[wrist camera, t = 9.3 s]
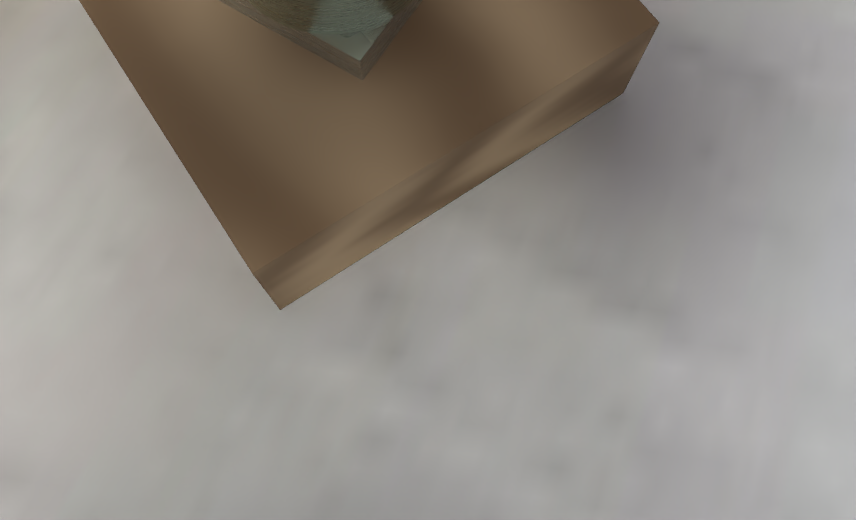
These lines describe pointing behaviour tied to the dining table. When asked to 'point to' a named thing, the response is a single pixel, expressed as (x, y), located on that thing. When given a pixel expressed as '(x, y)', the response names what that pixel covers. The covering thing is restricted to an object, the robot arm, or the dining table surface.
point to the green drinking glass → (334, 26)
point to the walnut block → (362, 114)
